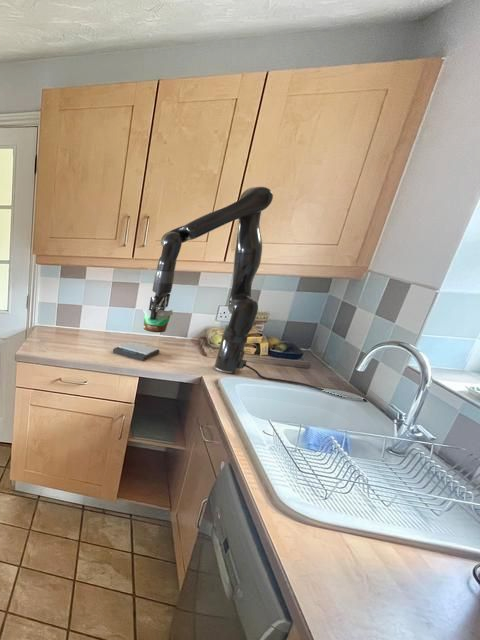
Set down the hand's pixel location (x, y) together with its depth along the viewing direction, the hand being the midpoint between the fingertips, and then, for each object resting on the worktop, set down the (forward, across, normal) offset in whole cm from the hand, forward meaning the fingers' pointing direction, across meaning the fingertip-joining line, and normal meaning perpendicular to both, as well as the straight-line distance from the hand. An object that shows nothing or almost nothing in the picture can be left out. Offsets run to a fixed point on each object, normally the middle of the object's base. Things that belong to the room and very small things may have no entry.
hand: (156, 318), depth 185 cm
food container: (+6, 0, 0) cm, 6 cm away
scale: (+22, +9, +11) cm, 26 cm away
